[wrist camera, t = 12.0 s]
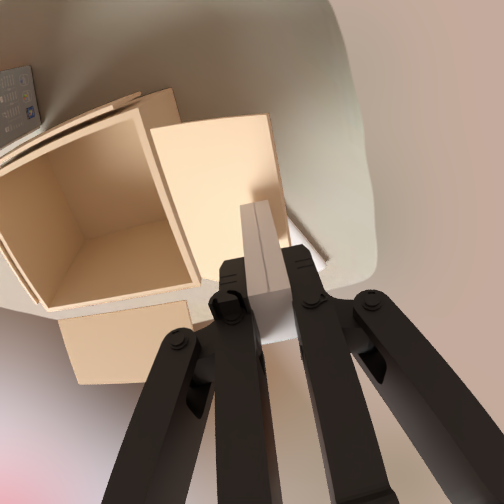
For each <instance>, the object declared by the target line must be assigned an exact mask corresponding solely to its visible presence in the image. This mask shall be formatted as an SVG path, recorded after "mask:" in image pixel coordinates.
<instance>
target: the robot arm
mask: <svg viewBox="0 0 504 504" xmlns="http://www.w3.org/2000/svg"><path fill="white" fill-rule="evenodd" d="M240 217H241V228H242V239H243V250H244V257H239V258H234V259H230V260H225V261H223V263H222V265H221V267H220V269H219V291H218V292H216V293H215V294H214V295H213V296H212V297H211V298H210V300H209V303H208V305H209V308H210V310H211V313H212V315H213V317H214V322H212V323H211V324H210V325H208V326H207V327H205V328H203V329H201V330H198V331H196V332H194V331H193V330H191V329H189V328H185V327H183V328H177V329H174V330H172V331H170V332H169V333H168V334H167V335H166V336H165V337H164V339H163V341H162V343H161V345H160V348H159V350H158V353H157V355H156V357H155V360H154V362H153V365H152V367H151V370H150V372H149V375H148V377H147V380H146V382H145V385H144V387H143V390H142V392H141V395H140V397H139V400H138V403H137V405H136V408H135V410H134V413H133V416H132V418H131V421H130V424H129V426H128V429H127V431H126V434H125V437H124V440H123V443H122V445H121V448H120V451H119V453H118V456H117V459H116V462H115V464H114V468H113V470H112V473H111V476H110V479H109V482H108V485H107V488H106V491H105V494H104V497H103V500H102V503H101V504H185V501H186V497H187V494H188V490H189V486H190V482H191V479H192V474H193V471H194V467H195V463H196V459H197V456H198V452H199V448H200V444H201V441H202V437H203V433H204V429H205V425H206V422H207V418H208V414H209V410H210V407H211V403H212V399H213V395H214V391H215V436H216V468H217V469H216V470H217V496H218V504H283V502H282V494H281V487H280V479H279V471H278V463H277V455H276V447H275V440H274V431H273V423H272V416H271V408H270V399H269V392H268V384H267V376H266V368H265V360H264V354H263V351H262V346H261V343H262V344H268V343H273V342H279V341H284V340H289V339H294V338H298V340H299V346H300V353H301V360H303V365H304V370H305V374H306V379H307V384H308V389H309V393H310V398H311V403H312V408H313V412H314V417H315V422H316V427H317V432H318V437H319V442H320V447H321V452H322V458H323V463H324V468H325V473H326V478H327V484H328V489H329V494H330V500H331V504H399V501H398V499H397V496H396V494H395V492H394V491H393V490H392V489H391V487H390V485H389V482H388V478H387V474H386V471H385V467H384V463H383V459H382V456H381V452H380V449H379V445H378V442H377V438H376V435H375V431H374V428H373V424H372V421H371V418H370V414H369V411H368V408H367V405H366V401H365V398H364V395H363V392H362V388H361V385H360V382H359V379H358V376H357V373H356V370H355V367H354V364H353V361H352V358H351V355H350V353H352V354H353V356H354V357H355V359H356V360H357V362H358V363H359V365H360V366H361V367H362V369H363V371H364V372H365V373H366V375H367V376H368V378H369V379H370V381H371V382H372V384H373V385H374V387H375V388H376V390H377V391H378V393H379V394H380V396H381V397H382V398H383V400H384V401H385V403H386V404H387V406H388V407H389V408H390V410H391V412H392V413H393V415H394V416H395V418H396V419H397V421H398V422H399V424H400V425H401V427H402V428H403V430H404V431H405V433H406V434H407V436H408V437H409V439H410V440H411V442H412V443H413V445H414V446H415V448H416V450H417V451H418V453H419V454H420V456H421V457H422V459H423V460H424V462H425V463H426V465H427V466H428V468H429V469H430V471H431V473H432V474H433V476H434V477H435V479H436V480H437V482H438V484H439V485H440V486H441V488H442V490H443V491H444V493H445V495H446V496H447V498H448V499H449V500H450V502H451V503H452V504H504V434H503V433H502V432H501V430H500V429H499V428H498V426H497V425H496V424H495V422H494V421H493V420H492V418H491V417H490V416H489V414H488V413H487V412H486V411H485V409H484V408H483V407H482V405H481V404H480V403H479V402H478V400H477V399H476V398H475V396H474V395H473V394H472V393H471V391H470V390H469V389H468V388H467V387H466V385H465V384H464V383H463V382H462V380H461V379H460V378H459V377H458V375H457V374H456V373H455V372H454V371H453V369H452V368H451V367H450V366H449V365H448V364H447V362H446V361H445V360H444V359H443V358H442V356H441V355H440V354H439V353H438V352H437V351H436V349H435V348H434V347H433V346H432V345H431V344H430V342H429V341H428V340H427V339H426V338H425V337H424V336H423V334H421V332H420V331H419V330H418V329H417V328H416V327H415V325H414V324H413V323H412V322H411V321H410V320H409V319H408V318H407V317H406V315H404V313H403V312H402V311H401V310H400V309H399V308H398V307H397V306H396V305H395V303H394V302H393V301H392V300H391V299H390V298H389V297H388V296H387V295H386V294H384V293H383V292H381V291H378V290H365V291H362V292H360V293H359V294H357V295H356V297H355V298H354V300H344V299H337V298H334V297H332V296H330V295H329V294H328V293H327V292H326V291H325V290H324V288H323V285H322V282H321V280H320V277H319V274H318V271H317V269H316V266H315V263H314V261H313V259H312V255H311V253H310V250H309V249H308V248H306V247H305V246H304V245H303V244H300V245H295V246H290V247H285V248H280V244H279V240H278V236H277V232H276V228H275V225H274V221H273V217H272V213H271V210H270V206H269V202H268V200H263V201H258V202H253V203H248V204H243V205H240Z"/></svg>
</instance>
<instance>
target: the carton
mask: <svg viewBox="0 0 504 504" xmlns="http://www.w3.org/2000/svg"><path fill="white" fill-rule="evenodd" d="M140 95H141V92H137V93H134V94H131V95H128V96H126V97H123V98H120V99H117V100H115V101H112V102H110V103H107V104H105V105H102V106H100V107H97V108H95V109H92V110H90V111H88V112H85V113H83V114H81V115H78V116H76V117H74V118H72V119H70V120H67V121H65V122H63V123H61V124H59V125H57V126H55V127H53V128H51V129H49V130H47V131H45V132H43V133H41V134H39V135H37V136H35V137H33V138H32V139H30V140H28V141H26V142H24V143H22V144H21V145H19V146H17V147H16V148H14V149H12V150H11V151H9V152H8V153H6V154H5V155H3V156H2V157H0V164H1V163H2V162H4V161H6V160H7V159H9V158H11V157H12V158H11V159H9V160H8V161H7V162H5V163H4V164H2V165H1V166H0V251H1V253H2V255H3V256H4V258H5V259H6V261H7V263H8V264H9V266H10V268H11V269H12V271H13V272H14V274H15V275H16V277H17V278H18V280H19V281H20V283H21V284H22V286H23V287H24V289H25V290H26V292H27V293H28V295H29V296H30V298H31V299H32V300H33V302H34V303H35V304H36V305H37V304H38V303H39V301H40V302H41V304H42V305H43V307H44V308H45V309H46V311H47V312H53V311H59V310H66V309H72V308H78V307H84V306H90V305H97V304H103V303H108V302H114V301H120V300H126V299H132V298H138V297H143V296H149V295H155V294H160V293H166V292H171V291H177V290H182V289H188V288H193V287H199V286H201V278H202V277H201V275H200V272H199V269H198V267H197V264H196V262H195V259H194V256H193V254H192V251H191V248H190V246H189V243H188V240H187V237H186V235H185V232H184V229H183V226H182V224H181V221H180V218H179V215H178V212H177V210H176V207H175V204H174V201H173V198H172V195H171V192H170V189H169V186H168V184H167V181H166V178H165V175H164V172H163V169H162V166H161V163H160V160H159V156H158V153H157V150H156V147H155V144H154V141H153V138H152V135H151V131H150V129H151V128H153V127H158V126H164V125H170V124H176V123H181V119H180V116H179V112H178V109H177V105H176V101H175V98H174V94H173V90H172V87H171V88H168V89H164V90H161V91H158V92H155V93H151V94H148V95H145V96H142V97H139V98H136V97H138V96H140ZM134 98H136V99H134ZM132 99H134V100H132ZM130 100H131V101H130ZM16 154H17V155H16ZM14 155H15V156H14ZM13 156H14V157H13Z"/></svg>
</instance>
